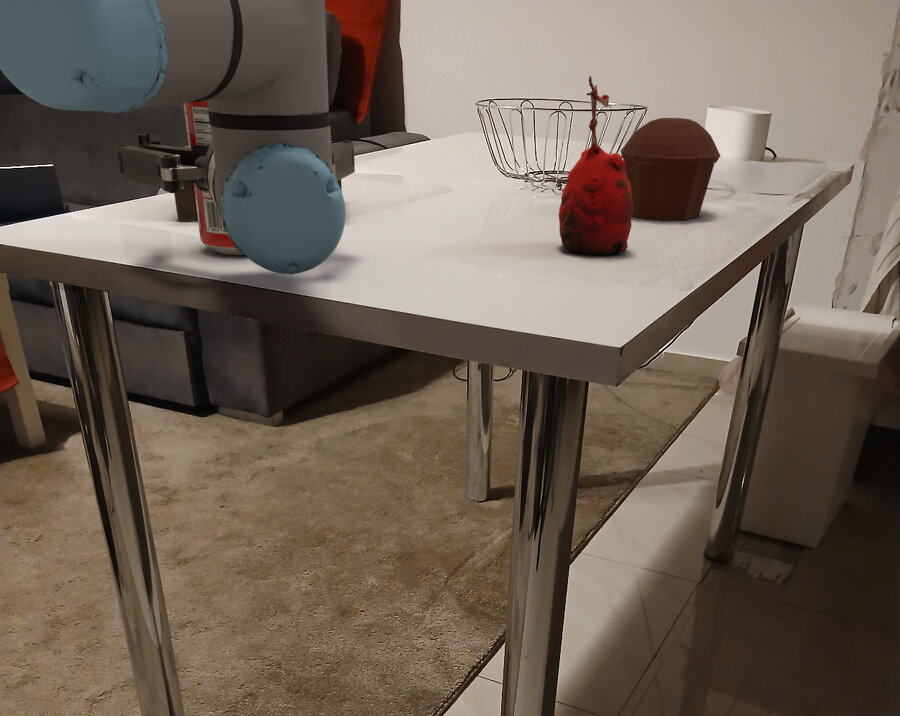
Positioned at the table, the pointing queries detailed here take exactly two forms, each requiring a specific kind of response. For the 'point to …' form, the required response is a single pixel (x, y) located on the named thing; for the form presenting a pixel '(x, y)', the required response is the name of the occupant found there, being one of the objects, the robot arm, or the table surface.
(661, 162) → the muffin
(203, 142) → the soda can
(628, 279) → the table surface
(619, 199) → the red clay folk toy
